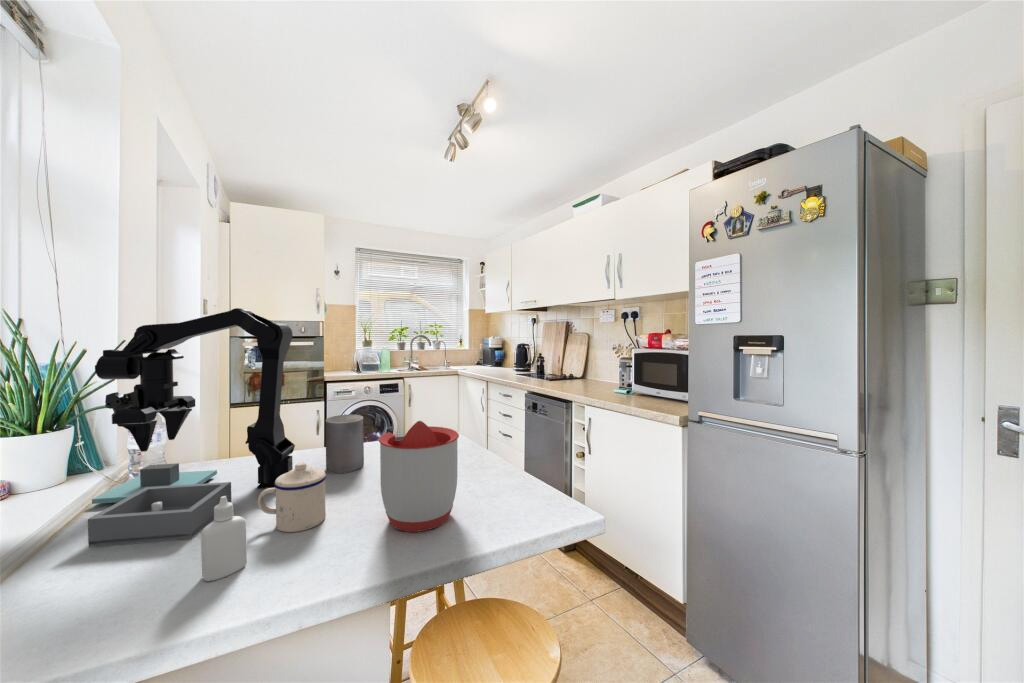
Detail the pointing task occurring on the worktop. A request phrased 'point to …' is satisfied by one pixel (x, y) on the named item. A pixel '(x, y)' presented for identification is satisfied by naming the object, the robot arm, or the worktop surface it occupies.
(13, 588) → the worktop surface
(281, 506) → the teacup with lid
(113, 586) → the worktop surface
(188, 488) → the tub
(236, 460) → the worktop surface
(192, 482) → the lid
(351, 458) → the pillar candle
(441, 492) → the citrus juicer
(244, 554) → the eye dropper bottle
